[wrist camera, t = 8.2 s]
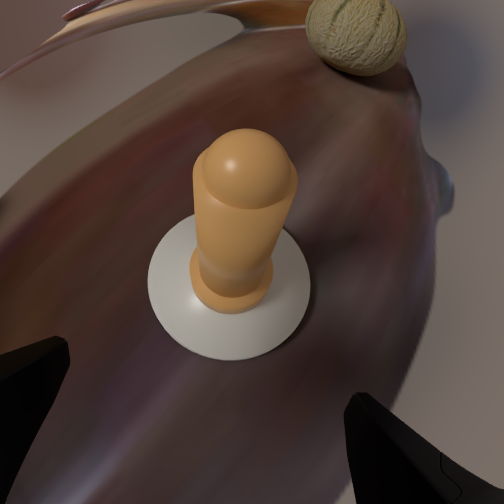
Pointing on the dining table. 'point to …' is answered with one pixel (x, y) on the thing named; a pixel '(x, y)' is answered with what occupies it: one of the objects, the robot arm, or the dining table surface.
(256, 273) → the orange domed peg
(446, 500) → the robot arm
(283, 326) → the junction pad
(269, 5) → the dining table surface
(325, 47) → the cantaloupe
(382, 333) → the dining table surface
